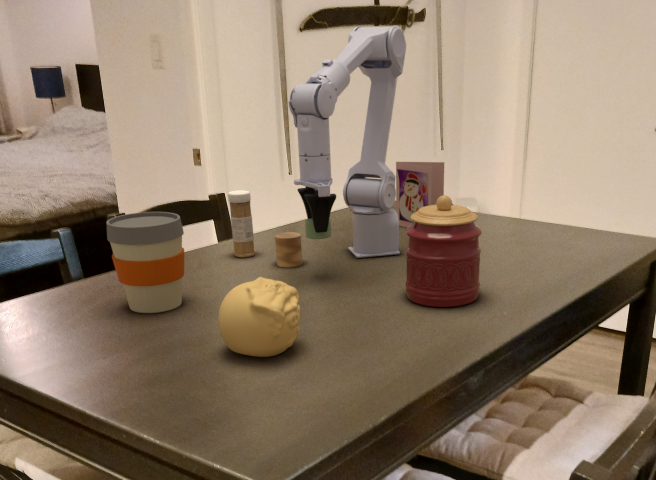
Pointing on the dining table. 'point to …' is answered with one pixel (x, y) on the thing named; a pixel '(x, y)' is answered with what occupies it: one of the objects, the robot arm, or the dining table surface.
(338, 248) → the dining table surface
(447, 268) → the kitchen canister
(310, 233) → the green short cylinder
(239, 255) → the sprinkles bottle
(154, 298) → the reusable coffee cup
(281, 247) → the pile middle chip
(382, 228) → the robot arm
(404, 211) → the greeting card
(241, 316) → the sculpture
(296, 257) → the pile bottom chip
